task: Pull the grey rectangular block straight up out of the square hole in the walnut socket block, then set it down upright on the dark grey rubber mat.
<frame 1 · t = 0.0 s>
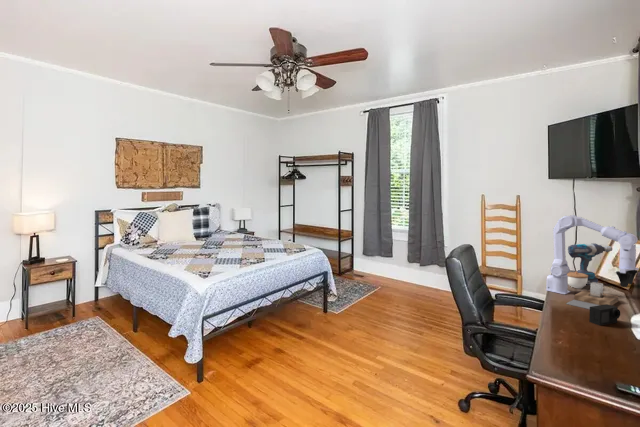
hand: (626, 285, 157), 10 cm above the table, tool pointing down, fingers open, 7 cm apart
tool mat: (586, 305, 158), on the table
lidded jar: (576, 287, 189), on the table
socket block: (596, 300, 166), on the table
impact wrench: (588, 284, 195), on the table
digital camera: (604, 323, 138), on the table
grey rectangular block: (596, 291, 165), in the socket block
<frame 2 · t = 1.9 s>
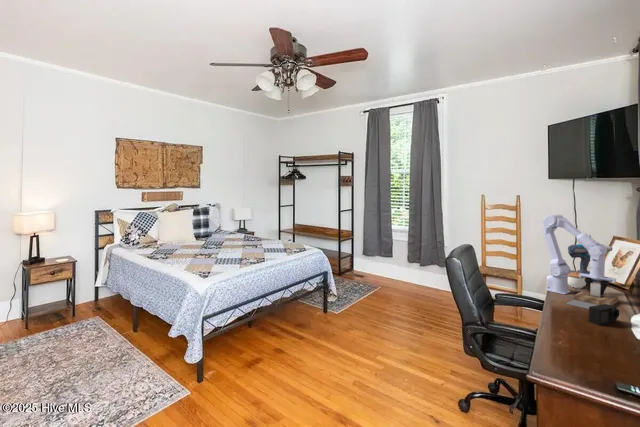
hand: (596, 293, 165), 4 cm above the table, tool pointing down, fingers closed on grey rectangular block, 4 cm apart
grey rectangular block: (596, 291, 165), in the socket block, touching gripper
everything else where it was.
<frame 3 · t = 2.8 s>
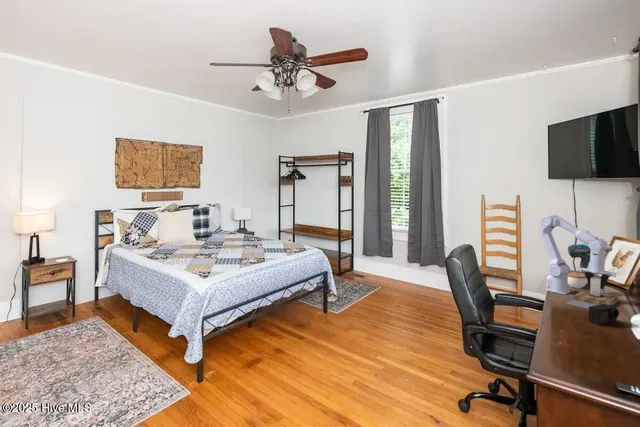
hand: (596, 287, 165), 7 cm above the table, tool pointing down, fingers closed on grey rectangular block, 4 cm apart
grey rectangular block: (596, 286, 165), point 7 cm above the table, touching gripper
everything else where it was.
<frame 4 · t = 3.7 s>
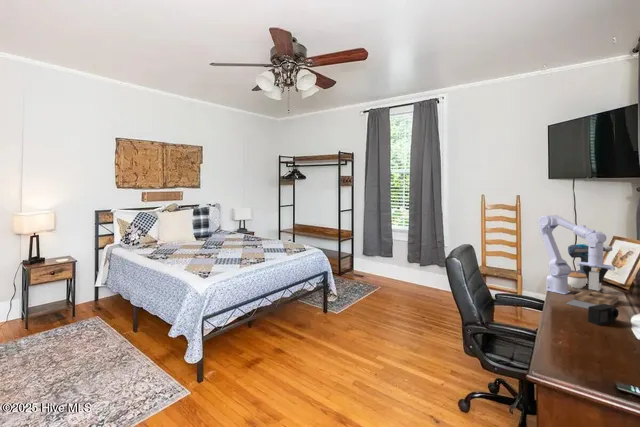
hand: (594, 281, 163), 10 cm above the table, tool pointing down, fingers closed on grey rectangular block, 4 cm apart
grey rectangular block: (595, 280, 163), point 11 cm above the table, touching gripper
everything else where it was.
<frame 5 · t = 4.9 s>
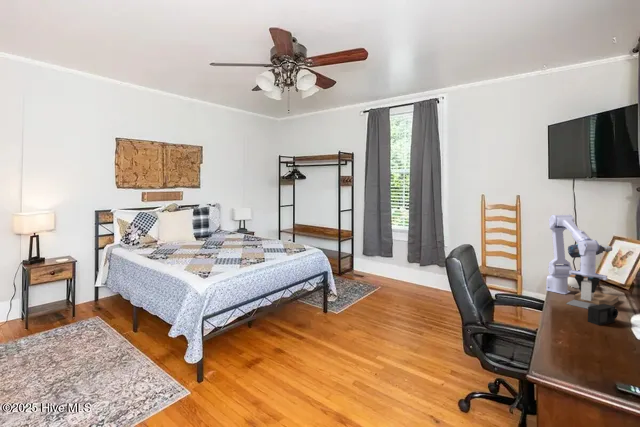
hand: (587, 291, 158), 7 cm above the table, tool pointing down, fingers closed on grey rectangular block, 4 cm apart
grey rectangular block: (587, 290, 158), point 8 cm above the table, touching gripper
everything else where it was.
when the fingers open (5 cm above the table, at t = 5.7 s): grey rectangular block stays where it is, resting on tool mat.
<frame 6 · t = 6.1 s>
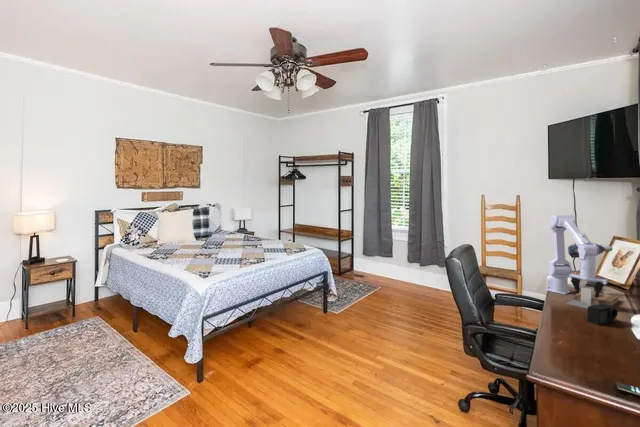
hand: (587, 295, 158), 5 cm above the table, tool pointing down, fingers open, 7 cm apart
grey rectangular block: (587, 296, 158), resting on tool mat
everything else where it was.
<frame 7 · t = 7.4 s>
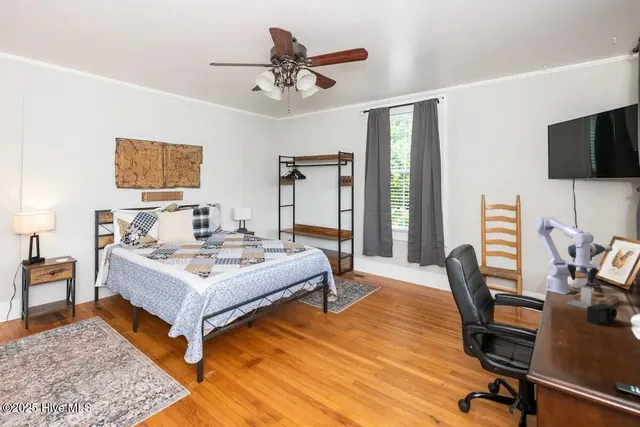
hand: (582, 281, 167), 10 cm above the table, tool pointing down, fingers open, 7 cm apart
nothing on the table moved.
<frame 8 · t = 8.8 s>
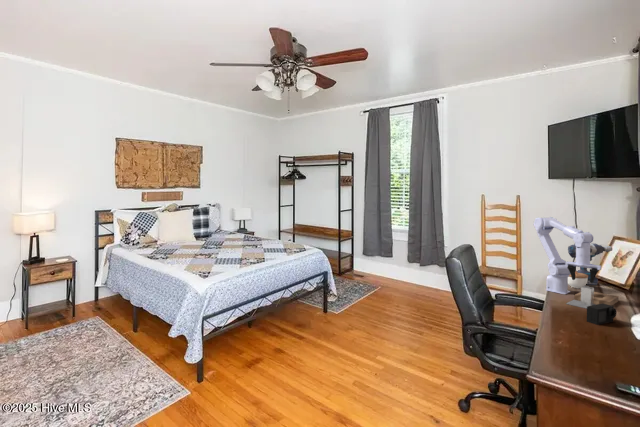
hand: (582, 281, 167), 10 cm above the table, tool pointing down, fingers open, 7 cm apart
at the end: grey rectangular block inside the target area on the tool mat (0.4 cm from its centre), point 4.7 cm above the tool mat's base; grey rectangular block tilted 0°; the gripper is holding nothing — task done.
